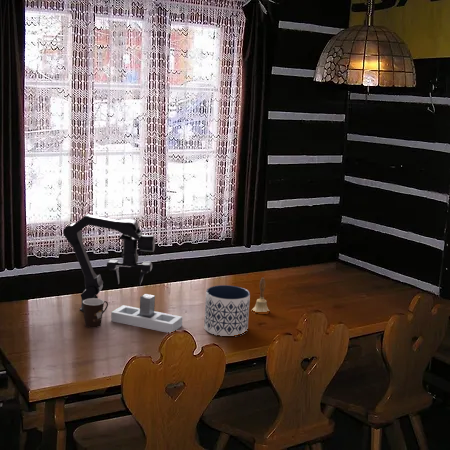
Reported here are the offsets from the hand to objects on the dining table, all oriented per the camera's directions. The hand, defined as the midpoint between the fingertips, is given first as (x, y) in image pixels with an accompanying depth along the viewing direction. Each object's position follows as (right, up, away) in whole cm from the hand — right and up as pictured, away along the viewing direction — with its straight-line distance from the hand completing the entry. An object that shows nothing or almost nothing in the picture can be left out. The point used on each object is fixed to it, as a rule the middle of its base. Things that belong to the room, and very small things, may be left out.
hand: (129, 284), depth 297 cm
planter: (+42, -18, -8) cm, 46 cm away
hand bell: (+57, -14, +16) cm, 61 cm away
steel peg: (+8, -16, -7) cm, 19 cm away
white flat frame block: (+8, -16, -7) cm, 19 cm away
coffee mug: (-12, -15, -12) cm, 23 cm away
